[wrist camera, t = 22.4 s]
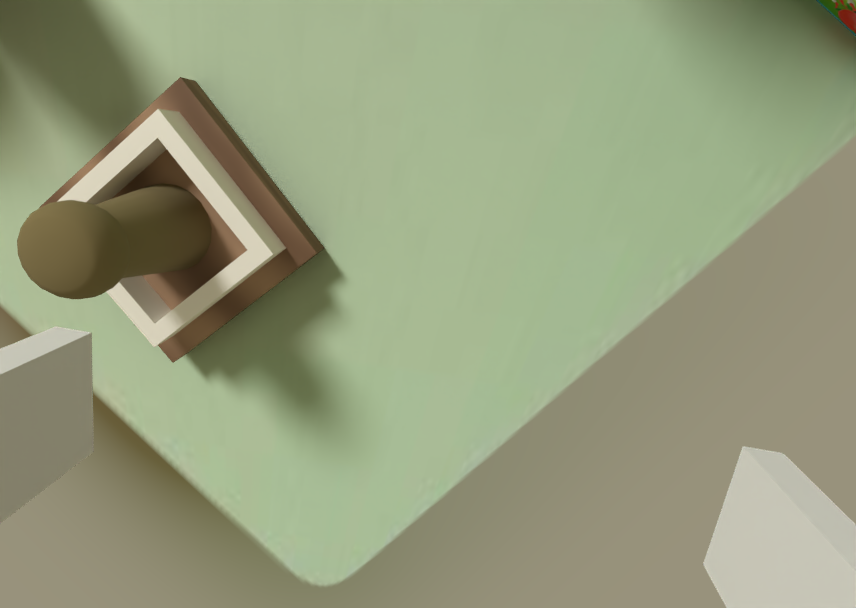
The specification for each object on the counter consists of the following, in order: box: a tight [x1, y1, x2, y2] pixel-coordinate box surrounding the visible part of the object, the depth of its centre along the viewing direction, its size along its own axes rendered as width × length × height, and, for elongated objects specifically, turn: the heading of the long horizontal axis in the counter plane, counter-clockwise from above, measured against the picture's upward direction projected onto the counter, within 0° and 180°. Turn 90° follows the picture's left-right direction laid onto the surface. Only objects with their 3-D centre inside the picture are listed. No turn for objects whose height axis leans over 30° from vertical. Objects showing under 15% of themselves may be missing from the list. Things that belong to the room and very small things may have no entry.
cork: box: [17, 183, 212, 299], centre depth 33 cm, size 6×6×11 cm
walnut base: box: [39, 77, 324, 362], centre depth 38 cm, size 14×14×4 cm
